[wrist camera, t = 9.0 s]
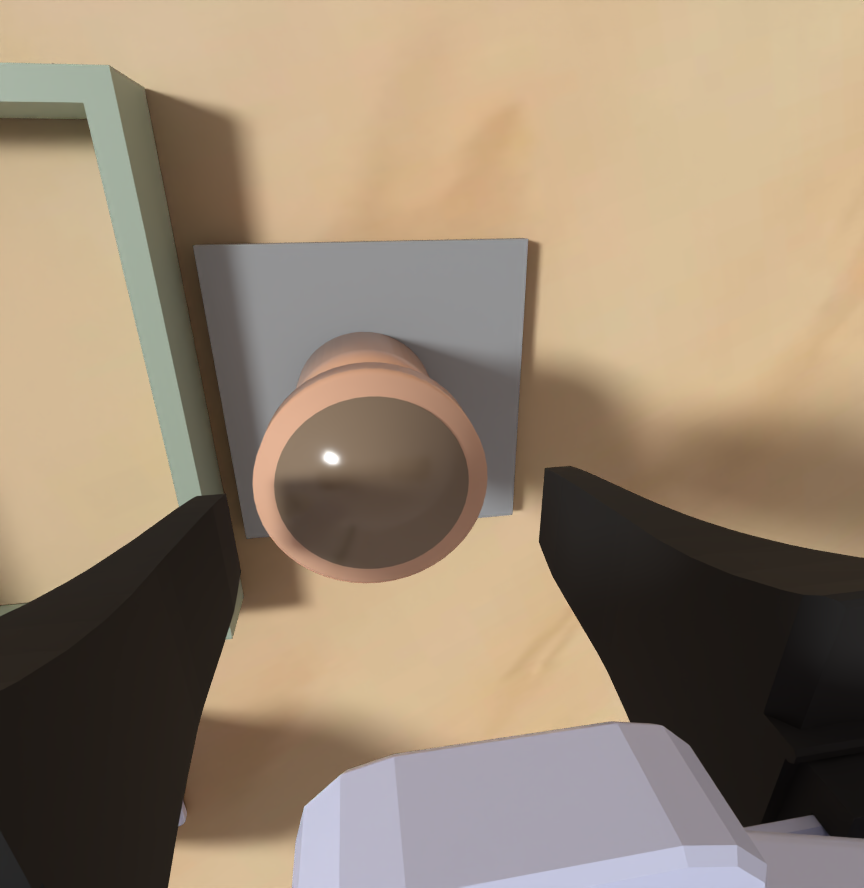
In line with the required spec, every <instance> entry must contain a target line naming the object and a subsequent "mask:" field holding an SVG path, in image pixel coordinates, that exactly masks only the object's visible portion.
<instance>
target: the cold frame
mask: <svg viewBox="0 0 864 888" xmlns="http://www.w3.org/2000/svg"><path fill="white" fill-rule="evenodd" d="M0 118H42V119H87V120H88V124H89V128H90V133H91V137H92V141H93V145H94V150H95V154H96V158H97V162H98V166H99V171H100V175H101V179H102V183H103V188H104V192H105V196H106V200H107V204H108V209H109V213H110V217H111V221H112V226H113V230H114V234H115V238H116V242H117V247H118V251H119V255H120V259H121V263H122V268H123V272H124V276H125V280H126V285H127V289H128V293H129V297H130V301H131V306H132V310H133V314H134V318H135V323H136V327H137V331H138V335H139V339H140V344H141V348H142V352H143V356H144V360H145V365H146V369H147V373H148V377H149V382H150V386H151V390H152V394H153V398H154V403H155V407H156V411H157V415H158V420H159V424H160V428H161V432H162V436H163V441H164V445H165V449H166V453H167V458H168V462H169V466H170V470H171V474H172V479H173V483H174V487H175V491H176V495H177V500H178V504H179V507H180V506H181V505H183V504H184V503H186V502H187V501H189V500H190V499H192V498H194V497H196V496H203V495H215V494H224V492H223V487H222V482H221V477H220V472H219V467H218V462H217V457H216V452H215V446H214V441H213V436H212V431H211V426H210V421H209V416H208V411H207V405H206V400H205V395H204V390H203V385H202V380H201V375H200V370H199V365H198V359H197V354H196V349H195V344H194V339H193V334H192V329H191V324H190V319H189V313H188V308H187V303H186V298H185V293H184V288H183V283H182V278H181V272H180V267H179V262H178V257H177V252H176V247H175V242H174V237H173V232H172V226H171V221H170V216H169V211H168V206H167V201H166V196H165V191H164V185H163V180H162V175H161V170H160V165H159V160H158V155H157V150H156V145H155V139H154V134H153V129H152V124H151V119H150V114H149V109H148V104H147V99H146V93H145V88H144V87H142V86H141V85H139V84H138V83H136V82H135V81H133V80H131V79H130V78H128V77H127V76H125V75H124V74H122V73H120V72H119V71H117V70H116V69H114V68H113V67H111V66H109V65H79V64H35V63H0ZM243 598H244V595H243V590H242V585H241V579H240V580H239V587H238V593H237V599H236V604H235V610H234V614H233V617H232V620H231V624H230V627H229V630H228V633H227V636H226V639H232V638H233V635H234V631H235V627H236V624H237V620H238V616H239V613H240V609H241V605H242V602H243ZM25 604H27V603H23V604H13V605H3V606H0V616H1V615H4V614H6V613H8V612H10V611H12V610H14V609H16V608H19V607H21V606H23V605H25Z"/></svg>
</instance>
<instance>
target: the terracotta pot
mask: <svg viewBox="0 0 864 888" xmlns="http://www.w3.org/2000/svg"><path fill="white" fill-rule="evenodd" d="M487 479H488V478H487V463H486V458H485V452H484V449H483V447H482V444H481V441H480V438H479V437H478V435H477V433H476V431H475V429H474V427H473V425H472V424H471V422H470V420H469V419H468V417H467V415H466V414H465V412H464V410H463V409H462V408H461V406H460V405H459V403H458V402H457V401H456V399H455V398H454V397H453V396H452V395H451V394H450V393H449V392H448V391H447V390H446V389H445V388H443V387H442V386H441V385H439V384H438V383H437V382H436V381H434V380H432V379H431V378H430V377H429V375H428V373H427V371H426V369H425V367H424V365H423V363H422V362H421V361H420V359H419V358H418V356H417V355H416V354H415V353H414V352H413V351H412V350H411V349H410V348H408V347H407V346H406V345H405V344H403V343H401V342H400V341H398V340H396V339H394V338H392V337H390V336H387V335H383V334H380V333H374V332H354V333H348V334H344V335H341V336H338V337H336V338H333V339H332V340H330V341H328V342H326V343H325V344H323V345H322V346H321V347H319V348H318V349H317V350H316V351H315V352H314V353H313V354H312V355H311V356H310V358H309V359H308V360H307V361H306V363H305V365H304V367H303V368H302V371H301V373H300V376H299V378H298V382H297V385H296V388H295V390H294V391H293V392H292V393H291V394H290V395H289V396H288V397H287V398H286V399H285V400H284V401H283V402H282V404H281V405H280V406H279V408H278V409H277V410H276V412H275V413H274V415H273V417H272V419H271V420H270V422H269V424H268V427H267V430H266V432H265V435H264V437H263V440H262V443H261V445H260V448H259V450H258V453H257V456H256V460H255V465H254V470H253V494H254V501H255V505H256V509H257V512H258V514H259V517H260V519H261V522H262V524H263V526H264V527H265V529H266V531H267V532H268V534H269V536H270V537H271V538H272V540H273V541H274V542H275V543H276V545H277V546H278V547H279V548H280V549H281V550H282V551H283V552H284V553H285V554H287V555H288V556H289V557H290V558H292V559H293V560H294V561H296V562H297V563H298V564H300V565H302V566H303V567H305V568H307V569H309V570H311V571H313V572H315V573H318V574H320V575H323V576H325V577H329V578H332V579H336V580H340V581H347V582H354V583H379V582H386V581H393V580H397V579H401V578H404V577H408V576H411V575H413V574H416V573H418V572H421V571H423V570H425V569H427V568H429V567H431V566H432V565H434V564H436V563H437V562H439V561H440V560H442V559H443V558H445V557H446V556H447V555H448V554H449V553H450V552H452V551H453V550H454V549H455V548H456V547H457V546H458V545H459V544H460V543H461V542H462V541H463V540H464V538H465V537H466V536H467V534H468V533H469V532H470V530H471V529H472V527H473V525H474V524H475V522H476V520H477V518H478V516H479V514H480V511H481V509H482V506H483V503H484V499H485V495H486V489H487Z"/></svg>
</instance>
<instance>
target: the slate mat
mask: <svg viewBox="0 0 864 888" xmlns="http://www.w3.org/2000/svg"><path fill="white" fill-rule="evenodd" d="M193 250H194V255H195V260H196V266H197V271H198V277H199V282H200V288H201V293H202V299H203V304H204V310H205V315H206V321H207V326H208V332H209V337H210V343H211V348H212V353H213V359H214V364H215V370H216V375H217V381H218V386H219V392H220V397H221V403H222V408H223V414H224V419H225V425H226V430H227V435H228V441H229V446H230V452H231V457H232V463H233V468H234V474H235V479H236V485H237V490H238V496H239V501H240V507H241V512H242V517H243V523H244V528H245V534H246V539H249V538H260V537H270V536H269V534H268V532H267V531H266V529H265V527H264V526H263V524H262V522H261V519H260V517H259V514H258V512H257V509H256V505H255V501H254V494H253V470H254V465H255V460H256V456H257V453H258V450H259V448H260V445H261V443H262V440H263V437H264V435H265V432H266V430H267V427H268V424H269V422H270V420H271V419H272V417H273V415H274V413H275V412H276V410H277V409H278V408H279V406H280V405H281V404H282V402H283V401H284V400H285V399H286V398H287V397H288V396H289V395H290V394H291V393H292V392H293V391H294V390H295V388H296V385H297V382H298V378H299V376H300V373H301V371H302V368H303V367H304V365H305V363H306V361H307V360H308V359H309V358H310V356H311V355H312V354H313V353H314V352H315V351H316V350H317V349H318V348H319V347H321V346H322V345H323V344H325V343H326V342H328V341H330V340H332V339H333V338H336V337H338V336H341V335H344V334H348V333H354V332H374V333H380V334H383V335H387V336H390V337H392V338H394V339H396V340H398V341H400V342H401V343H403V344H405V345H406V346H407V347H408V348H410V349H411V350H412V351H413V352H414V353H415V354H416V355H417V356H418V358H419V359H420V361H421V362H422V363H423V365H424V367H425V369H426V371H427V373H428V375H429V377H430V378H431V379H432V380H434V381H436V382H437V383H438V384H439V385H441V386H442V387H443V388H445V389H446V390H447V391H448V392H449V393H450V394H451V395H452V396H453V397H454V398H455V399H456V401H457V402H458V403H459V405H460V406H461V408H462V409H463V410H464V412H465V414H466V415H467V417H468V419H469V420H470V422H471V424H472V425H473V427H474V429H475V431H476V433H477V435H478V437H479V438H480V441H481V444H482V447H483V449H484V452H485V458H486V463H487V478H488V479H487V489H486V495H485V499H484V503H483V506H482V509H481V511H480V514H479V516H478V518H482V517H493V516H504V515H512V513H513V495H514V478H515V460H516V443H517V426H518V408H519V391H520V373H521V356H522V339H523V321H524V304H525V287H526V269H527V252H528V239H524V238H513V239H461V240H410V241H358V242H306V243H254V244H202V245H193Z"/></svg>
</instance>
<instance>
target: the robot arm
mask: <svg viewBox="0 0 864 888" xmlns="http://www.w3.org/2000/svg"><path fill="white" fill-rule="evenodd" d="M539 543H540V546H541V549H542V551H543V554H544V556H545V559H546V562H547V564H548V566H549V569H550V571H551V573H552V576H553V578H554V580H555V581H556V583H557V585H558V587H559V588H560V590H561V592H562V594H563V595H564V597H565V599H566V600H567V602H568V604H569V606H570V607H571V609H572V611H573V612H574V614H575V616H576V617H577V619H578V621H579V622H580V624H581V626H582V627H583V629H584V631H585V633H586V634H587V636H588V638H589V639H590V641H591V643H592V644H593V646H594V648H595V649H596V651H597V653H598V655H599V656H600V658H601V660H602V662H603V664H604V666H605V668H606V670H607V672H608V674H609V676H610V678H611V680H612V682H613V685H614V687H615V689H616V691H617V693H618V696H619V698H620V700H621V702H622V704H623V707H624V709H625V711H626V713H627V716H628V718H629V720H630V722H612V721H611V722H604V723H597V724H591V725H584V726H577V727H571V728H564V729H557V730H551V731H544V732H537V733H531V734H524V735H517V736H510V737H504V738H497V739H490V740H484V741H477V742H470V743H464V744H457V745H450V746H444V747H437V748H430V749H424V750H417V751H410V752H403V753H397V754H392V755H389V756H386V757H383V758H380V759H377V760H374V761H371V762H368V763H365V764H362V765H359V766H356V767H353V768H350V769H347V770H346V771H344V772H343V773H342V774H341V775H339V776H338V777H337V778H336V779H335V780H334V781H333V782H332V783H330V784H329V785H328V786H327V787H326V788H325V789H324V790H322V791H321V792H320V793H319V794H318V795H317V796H316V797H315V798H313V799H312V800H311V801H310V802H309V803H308V804H307V805H305V806H304V809H303V813H302V817H301V822H300V826H299V830H298V834H297V838H296V844H295V856H294V869H293V881H292V888H864V558H860V557H853V556H848V555H842V554H836V553H830V552H824V551H818V550H813V549H808V548H803V547H798V546H793V545H789V544H784V543H780V542H776V541H772V540H768V539H764V538H759V537H755V536H751V535H748V534H744V533H740V532H737V531H733V530H730V529H727V528H724V527H721V526H717V525H714V524H711V523H708V522H705V521H702V520H699V519H696V518H693V517H690V516H688V515H685V514H682V513H680V512H677V511H675V510H672V509H670V508H667V507H665V506H662V505H660V504H657V503H655V502H653V501H650V500H648V499H645V498H643V497H641V496H639V495H636V494H634V493H632V492H630V491H628V490H625V489H623V488H621V487H619V486H617V485H615V484H612V483H610V482H608V481H606V480H604V479H601V478H599V477H597V476H595V475H592V474H590V473H588V472H585V471H583V470H580V469H578V468H575V467H571V466H565V467H552V468H545V474H544V486H543V498H542V510H541V523H540V535H539ZM240 574H241V570H240V564H239V559H238V554H237V549H236V544H235V538H234V533H233V528H232V523H231V518H230V512H229V507H228V502H227V497H226V494H215V495H203V496H196V497H194V498H192V499H190V500H189V501H187V502H186V503H184V504H183V505H181V506H180V507H178V508H177V509H176V510H174V511H173V512H171V513H170V514H169V515H167V516H166V517H165V518H163V519H162V520H160V521H159V522H158V523H156V524H155V525H153V526H152V527H151V528H149V529H148V530H146V531H145V532H144V533H142V534H141V535H140V536H138V537H137V538H135V539H134V540H132V541H131V542H130V543H128V544H127V545H125V546H123V547H122V548H120V549H119V550H117V551H116V552H114V553H113V554H111V555H110V556H108V557H107V558H105V559H104V560H102V561H101V562H99V563H98V564H96V565H95V566H93V567H92V568H90V569H88V570H87V571H85V572H83V573H82V574H80V575H78V576H77V577H75V578H73V579H71V580H70V581H68V582H66V583H64V584H63V585H61V586H59V587H57V588H55V589H53V590H52V591H50V592H48V593H46V594H44V595H42V596H41V597H39V598H37V599H35V600H33V601H31V602H29V603H27V604H25V605H23V606H21V607H19V608H16V609H14V610H12V611H10V612H8V613H6V614H4V615H1V616H0V888H168V883H169V877H170V871H171V865H172V859H173V853H174V847H175V841H176V836H177V830H178V826H181V825H182V824H184V822H185V821H186V817H187V811H186V808H185V805H184V802H183V798H184V793H185V788H186V782H187V777H188V772H189V768H190V763H191V758H192V753H193V749H194V744H195V739H196V734H197V730H198V725H199V722H200V718H201V715H202V711H203V707H204V704H205V701H206V698H207V695H208V692H209V688H210V685H211V682H212V679H213V676H214V673H215V670H216V667H217V664H218V661H219V658H220V655H221V652H222V649H223V646H224V642H225V639H226V636H227V633H228V630H229V627H230V624H231V620H232V617H233V614H234V610H235V604H236V599H237V593H238V587H239V580H240Z"/></svg>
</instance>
